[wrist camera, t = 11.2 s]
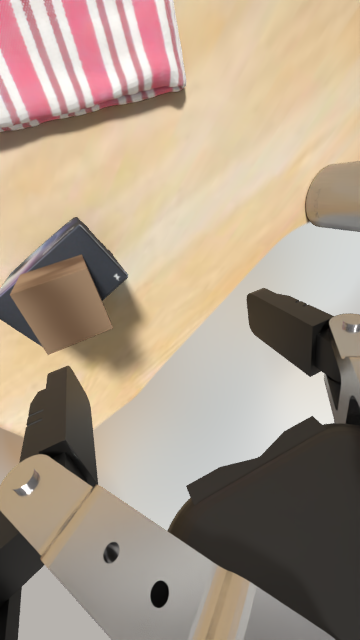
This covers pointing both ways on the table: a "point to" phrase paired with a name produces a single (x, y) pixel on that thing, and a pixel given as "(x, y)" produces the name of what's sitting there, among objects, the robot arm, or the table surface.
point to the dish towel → (84, 57)
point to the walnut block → (61, 304)
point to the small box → (58, 248)
